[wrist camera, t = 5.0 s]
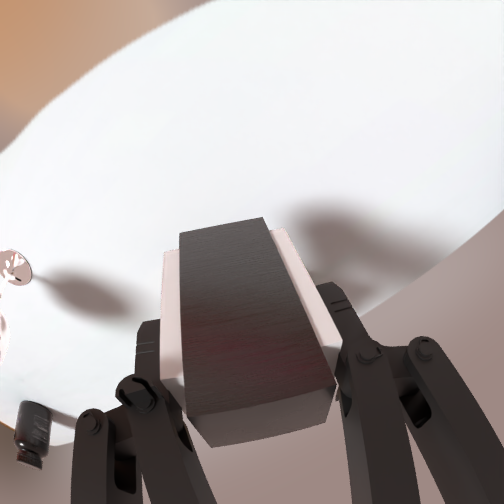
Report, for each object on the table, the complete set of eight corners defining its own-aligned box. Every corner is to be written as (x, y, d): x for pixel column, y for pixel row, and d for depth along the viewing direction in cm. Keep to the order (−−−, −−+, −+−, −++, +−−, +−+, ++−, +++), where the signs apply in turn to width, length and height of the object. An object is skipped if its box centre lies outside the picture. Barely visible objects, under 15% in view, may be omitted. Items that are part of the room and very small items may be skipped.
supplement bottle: (14, 397, 35) (3, 455, 25) (43, 402, 36) (35, 464, 27) (30, 414, 39) (23, 467, 29) (58, 419, 40) (53, 475, 31)
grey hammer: (179, 233, 14) (187, 417, 7) (262, 217, 14) (336, 384, 7) (229, 390, 23) (249, 490, 16) (276, 380, 24) (305, 477, 16)
